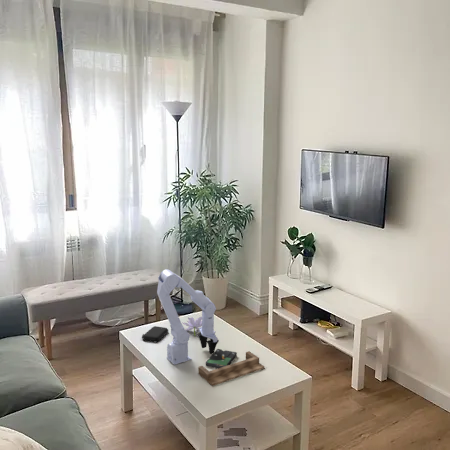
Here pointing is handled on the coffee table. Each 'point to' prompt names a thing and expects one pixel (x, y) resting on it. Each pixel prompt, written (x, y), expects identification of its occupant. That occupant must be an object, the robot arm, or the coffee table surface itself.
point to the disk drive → (221, 358)
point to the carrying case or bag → (155, 334)
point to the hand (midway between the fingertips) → (207, 350)
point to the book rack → (231, 370)
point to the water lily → (193, 324)
